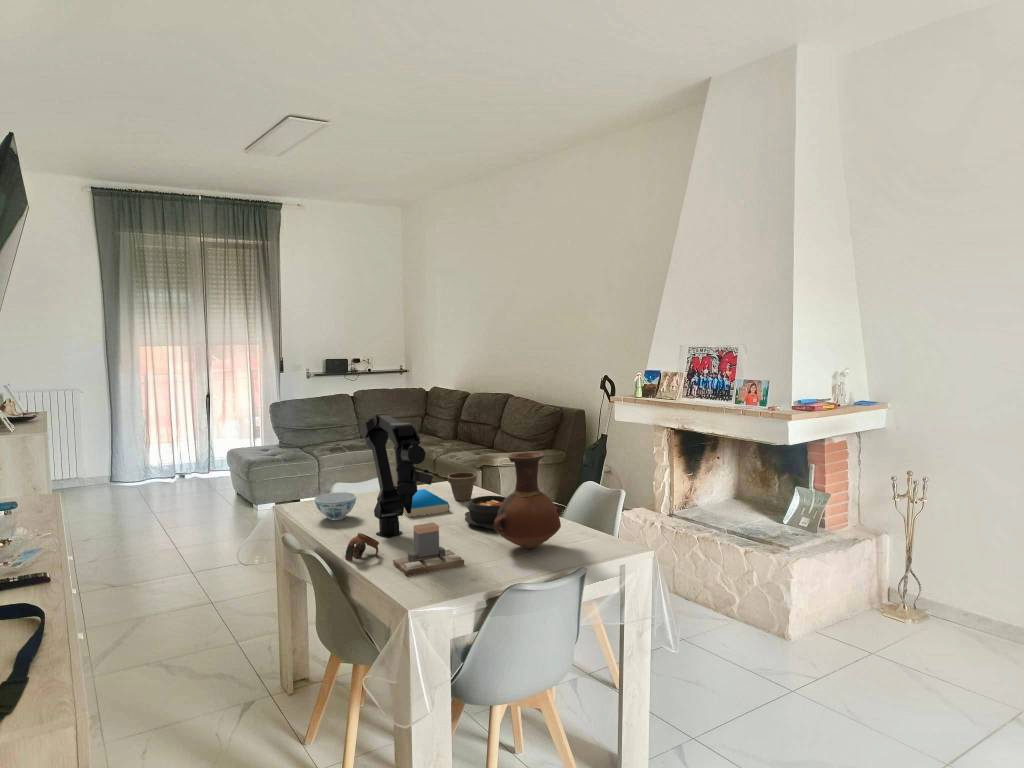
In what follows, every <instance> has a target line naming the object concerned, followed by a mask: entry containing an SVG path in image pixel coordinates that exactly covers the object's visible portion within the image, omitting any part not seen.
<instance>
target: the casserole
mask: <svg viewBox="0 0 1024 768" xmlns="http://www.w3.org/2000/svg"><path fill="white" fill-rule="evenodd" d="M506 497H507V496H501V495H484V496H483V495H482V496H477V497H474V498H471V499H470V500H469V502H468V505H467V506H466V509H467V510H468V511H467V512H465V513H464V516H465V517H464V520H465V522H467V524H470V525H473V526H476V527H481V528H487V529H491V530H495V529H494V520H495V519H496V518H497V514H498V511H499V508H500V506H501V504H502V502H503V501H504V499H505V498H506Z"/></svg>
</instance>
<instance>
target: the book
mask: <svg viewBox="0 0 1024 768" xmlns="http://www.w3.org/2000/svg"><path fill="white" fill-rule="evenodd" d="M444 511H448V512H450V504H449V502H448V501H446V500H445V499H443V498H441V497H439V496H438V495H436V494H434V493H432V492H431V491H429V490H427V489H425V488H423V489H417V492H416V493H415V494H414V496H413V498H412V508H411V513H407V511H406V509H405V507H404V511H403V513H404V514H405V515H406V516H405V515H404V514H403V515H404V516H405V517H407V516H408V517H407V518H412V517H411V516H415V517H418V516H417V515H421V516H425V515H424V514H428V515H432V514H431V513H435V514H439V513H438V512H442V513H445V512H444Z"/></svg>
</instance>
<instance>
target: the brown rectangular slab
mask: <svg viewBox="0 0 1024 768" xmlns="http://www.w3.org/2000/svg"><path fill="white" fill-rule="evenodd" d="M392 562H393V566H394V565H395V566H394V567H395V568H397V570H399V571H400V572H401V573H402V572H403V573H404V574H405V575H404V574H403V573H402V574H403V575H404V576H406V577H410V576H409V575H411V576H415V575H414V574H416V575H421V574H424V572H426V573H431V572H430V571H432V572H436V570H437V571H440V570H439V569H442V570H446V568H447V569H451V567H452V568H456V567H462V566H465V559H463V558H462V557H461V556H460V555H459V554H457V553H455V552H454V551H452V550H450V549H445V548H444V547H442V546H439V555H437V556H432V557H426V558H421V559H417V554H416V553H414V551H409V552H407V556H406V557H401V558H397V559H396V558H395V559H393V560H392ZM420 573H421V574H420Z"/></svg>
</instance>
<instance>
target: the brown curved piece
mask: <svg viewBox="0 0 1024 768" xmlns="http://www.w3.org/2000/svg"><path fill="white" fill-rule="evenodd" d="M379 544H380V542H379V541H378V540H376V539H374V538H373V537H370V536H368V535H367V534H364V533H361V532H358V533H357V535H356V536H354V537H352V538H351V539H350V540H349V541H348V544H347V547H346V550H345V555H344V557H345V559H346V560H348V561H350V562H353V559H355V560H362V557H363V554H364V553H365V551H366V547H367V546H369V547H371V548H373V549H375V550H376V551H375V555H374V556H375V557H377V556H378V554H379V547H378V546H379Z"/></svg>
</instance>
